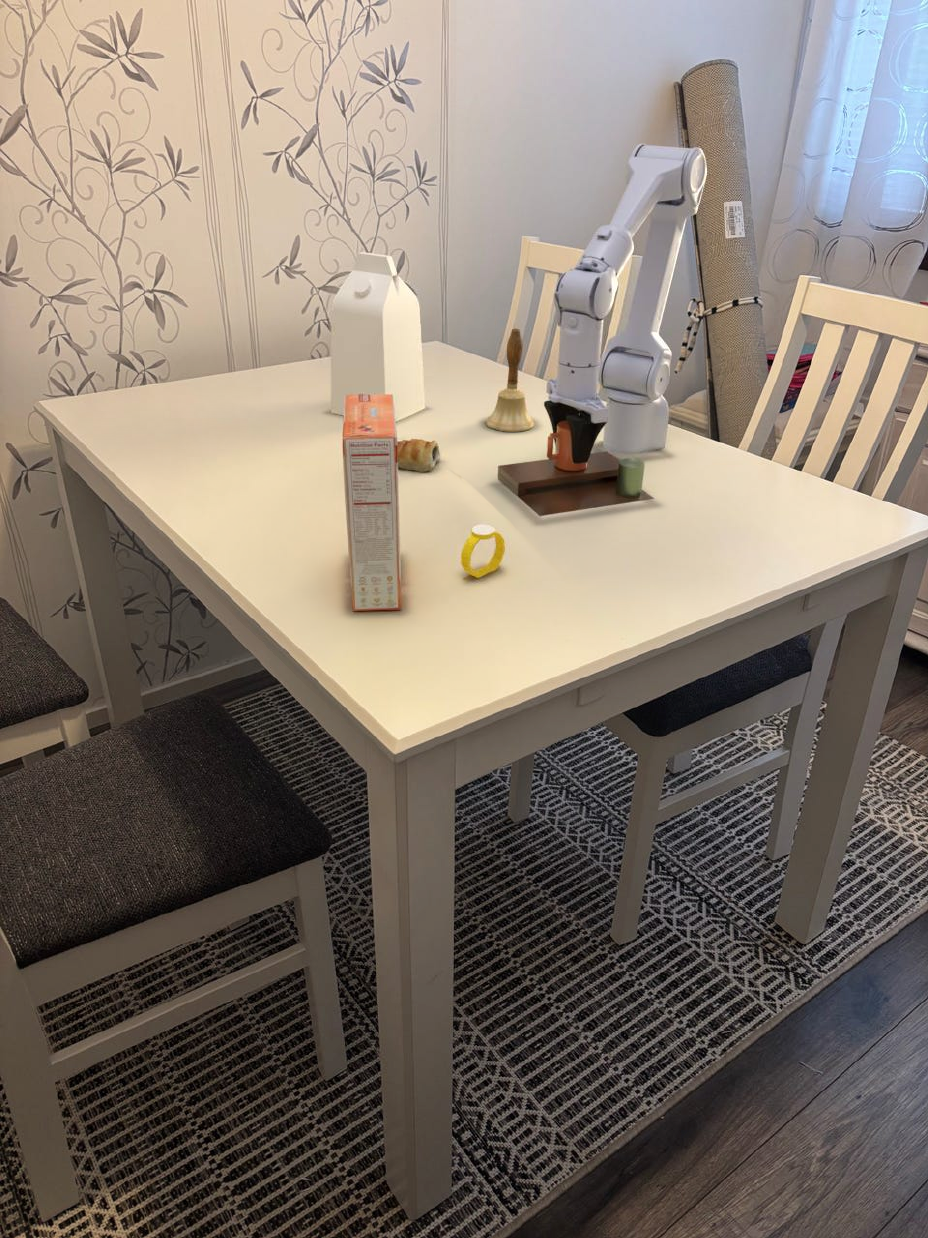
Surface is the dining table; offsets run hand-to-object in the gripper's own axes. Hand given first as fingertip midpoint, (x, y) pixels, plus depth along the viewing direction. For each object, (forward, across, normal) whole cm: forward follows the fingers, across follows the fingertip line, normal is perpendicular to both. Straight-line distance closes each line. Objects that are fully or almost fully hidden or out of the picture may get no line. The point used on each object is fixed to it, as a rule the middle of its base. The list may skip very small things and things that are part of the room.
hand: (571, 455), depth 140 cm
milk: (+5, -42, -16) cm, 45 cm away
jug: (+1, 0, 0) cm, 1 cm away
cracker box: (+5, +20, -36) cm, 41 cm away
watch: (+5, +22, -23) cm, 32 cm away
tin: (+3, +8, +6) cm, 10 cm away
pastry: (+5, -16, -19) cm, 25 cm away
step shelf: (+4, +4, -1) cm, 6 cm away
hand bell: (+5, -28, +3) cm, 28 cm away
